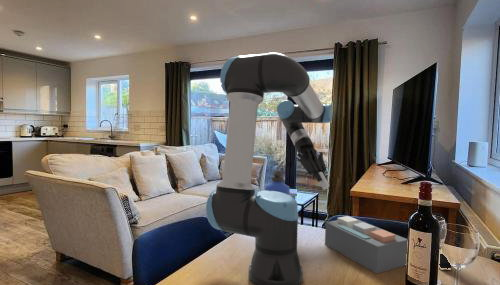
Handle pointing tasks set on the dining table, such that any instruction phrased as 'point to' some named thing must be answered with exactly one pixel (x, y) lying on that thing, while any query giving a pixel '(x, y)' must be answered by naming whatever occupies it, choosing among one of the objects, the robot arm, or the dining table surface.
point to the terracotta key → (382, 236)
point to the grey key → (364, 228)
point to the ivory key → (347, 221)
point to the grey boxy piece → (366, 247)
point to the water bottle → (277, 184)
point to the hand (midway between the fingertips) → (326, 187)
